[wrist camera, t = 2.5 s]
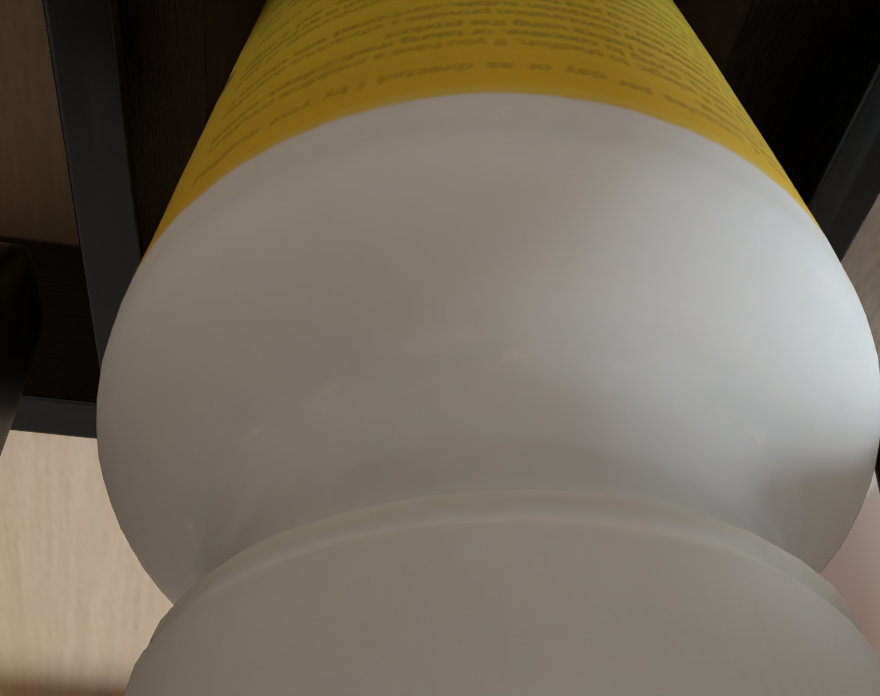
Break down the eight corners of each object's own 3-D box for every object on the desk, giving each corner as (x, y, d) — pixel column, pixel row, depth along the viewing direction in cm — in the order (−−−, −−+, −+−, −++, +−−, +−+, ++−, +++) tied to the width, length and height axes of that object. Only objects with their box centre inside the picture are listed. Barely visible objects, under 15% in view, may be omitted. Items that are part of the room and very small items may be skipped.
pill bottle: (253, -175, 11) (-528, 560, 2) (725, -117, 11) (1693, 696, 3) (267, 236, 15) (21, 1061, 6) (612, 268, 16) (833, 1080, 7)
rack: (902, -223, 11) (1087, -172, 8) (658, 348, 17) (707, 502, 14) (-738, -544, 9) (-1359, -646, 6) (-330, 229, 15) (-526, 376, 12)
